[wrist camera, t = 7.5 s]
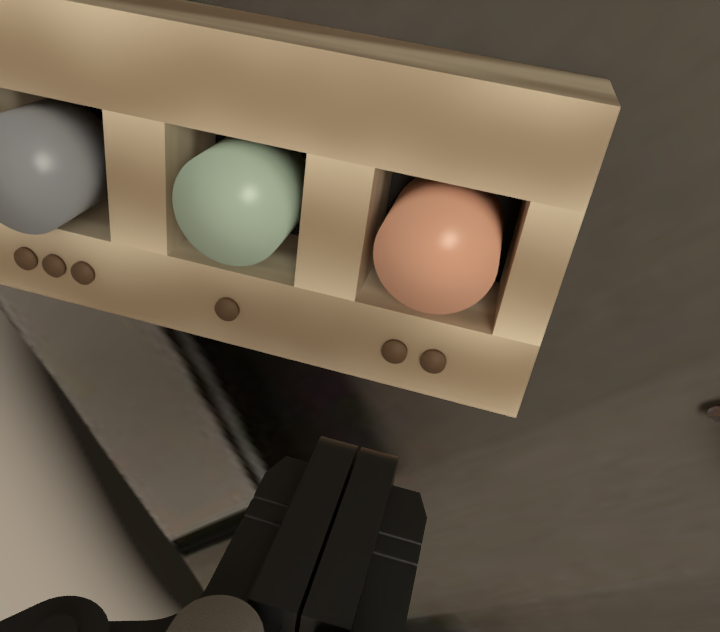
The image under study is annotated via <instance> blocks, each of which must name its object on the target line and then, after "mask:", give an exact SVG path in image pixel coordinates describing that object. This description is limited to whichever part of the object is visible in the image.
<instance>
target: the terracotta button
mask: <svg viewBox="0 0 720 632" xmlns="http://www.w3.org/2000/svg"><path fill="white" fill-rule="evenodd" d="M503 233H504V215H503V211H502V207H501V205H500V202H499V200H498V199H497V197H496V195H495V194H494V193H490V192H485V191H480V190H476V189H471V188H466V187H462V186H457V185H452V184H448V183H443V182H438V181H434V180H429V179H424V178H420V177H416V178H415V179H413V180H412V181H411V182H409V183H408V184H407V185H406V186H405V187H404V188H403V190H402V191H401V192H400V194H399V195H398V197H397V199H396V201H395V202H394V204H393V206H392V208H391V209H390V211H389V213H388V215H387V216H386V218H385V220H384V222H383V223H382V225H381V227H380V229H379V231H378V233H377V235H376V238H375V242H374V248H373V260H374V265H375V269H376V272H377V275H378V277H379V279H380V281H381V283H382V284H383V286H384V287H385V288H386V290H387V291H388V292H389V293H390V294H391V295H392V296H393V297H394V298H395V299H396V300H398V301H399V302H401V303H402V304H404V305H405V306H407V307H409V308H411V309H414V310H416V311H420V312H423V313H428V314H450V313H455V312H459V311H462V310H464V309H467V308H469V307H471V306H472V305H474V304H476V303H477V302H478V301H479V300H481V299H482V298H483V297H484V296H485V295H486V294H487V292H488V291H489V290H490V288H491V287H492V285H493V283H494V281H495V278H496V276H497V272H498V267H499V260H500V254H501V247H502V240H503Z"/></svg>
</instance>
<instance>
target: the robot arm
mask: <svg viewBox="0 0 720 632" xmlns="http://www.w3.org/2000/svg"><path fill="white" fill-rule="evenodd" d="M358 451H359V446H356V445H352V444H349V443H345V442H341V441H338V440H334V439H330V438H326V437H323V436H321V437H320V439H319V440H318V443H317V445H316V447H315V449H314V452H313V454H312V456H311V458H310V461H309V462H306V461H302V460H299V459H295V458H292V457H288V456H286V457H285V458H283V459H282V460H281V461H280V462H278V463H277V464H276V465H275V466H273V467H272V468H271V469H270V470H268V471H267V472H266V473H265V475H264V477H263V479H262V481H261V483H260V485H259V487H258V489H257V491H256V493H255V495H254V498H253V499H252V500H251V502H250V504H249V506H248V508H247V510H246V512H245V515H244V518H242V520H241V522H240V524H239V526H238V528H237V530H236V532H235V534H234V536H233V537H232V539H231V541H230V543H229V545H228V547H227V549H226V551H225V553H224V555H223V557H222V559H221V561H220V563H219V565H218V567H217V569H216V571H215V573H214V575H213V577H212V578H211V580H210V582H209V584H208V586H207V588H206V589H205V591H204V592H203V594H202V595H201V596H200V597H199V598H198V599H197V600H196V601H194V602H192V603H190V604H189V605H187V606H186V607H184V608H183V610H181V611H180V612H179V613H177V614H175V615H172V616H169V617H167V618H163V619H158V620H148V621H108V619H107V616H106V614H105V613H104V611H103V609H102V608H101V607H100V606H98V604H96V603H95V602H93V601H91V600H89V599H86V598H83V597H78V596H61V597H56V598H52V599H48V600H46V601H43V602H41V603H39V604H36V605H34V606H32V607H30V608H28V609H26V610H24V611H21V612H19V613H18V614H15V615H13V616H11V617H9V618H6V619H4V620H2V621H0V632H404V630H405V625H406V620H407V615H408V610H409V605H410V600H411V595H412V590H413V585H414V580H415V575H416V570H417V564H418V560H419V555H420V550H421V544H422V540H423V535H424V530H425V525H426V520H427V516H426V513H425V509H424V506H423V502H422V499H421V495H420V493H418V492H415V491H411V490H408V489H404V488H400V487H397V486H393V482H394V478H395V474H396V469H397V465H398V460H399V457H397V456H394V455H390V454H386V453H382V452H379V451H375V450H371V449H368V448H364V447H361V449H360V451H359V454H358Z"/></svg>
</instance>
